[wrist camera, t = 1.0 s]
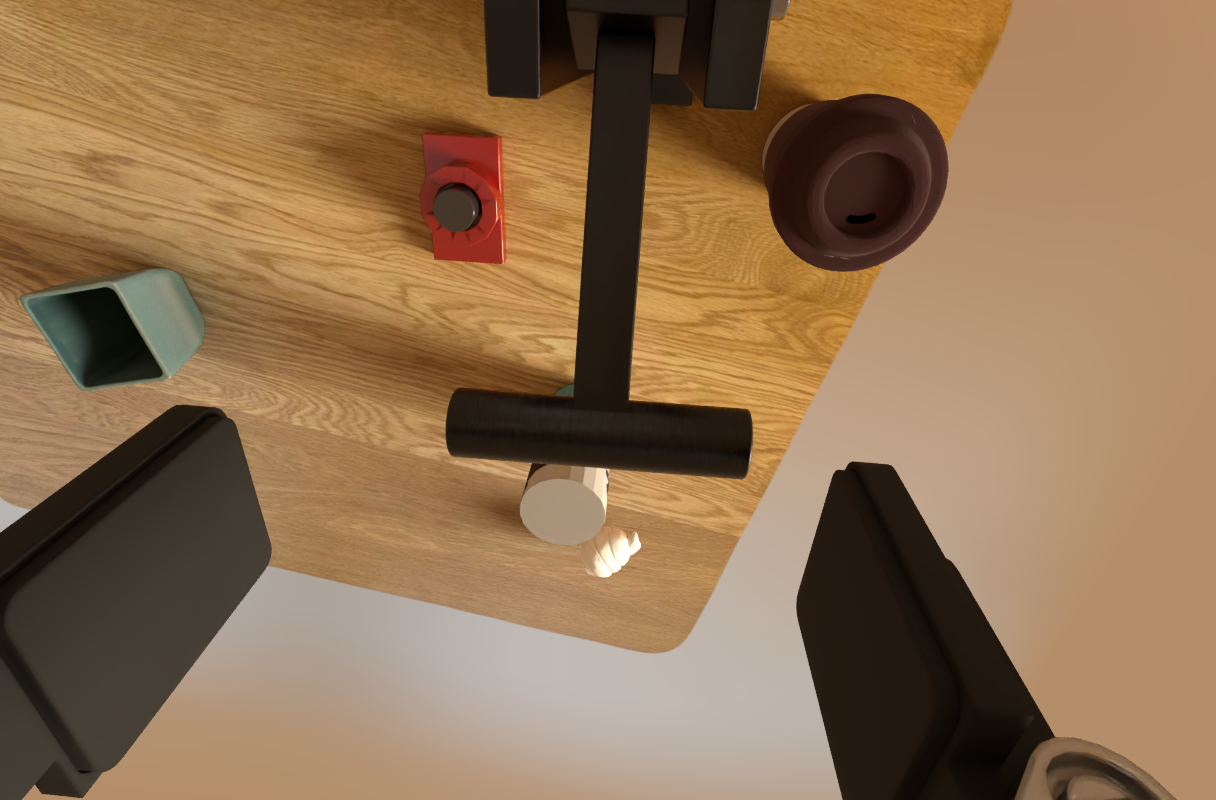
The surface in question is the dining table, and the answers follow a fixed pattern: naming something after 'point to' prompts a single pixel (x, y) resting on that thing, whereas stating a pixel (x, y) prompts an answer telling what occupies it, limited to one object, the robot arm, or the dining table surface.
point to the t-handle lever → (609, 287)
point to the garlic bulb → (608, 551)
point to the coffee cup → (854, 179)
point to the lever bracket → (710, 69)
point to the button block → (480, 172)
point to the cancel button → (456, 208)
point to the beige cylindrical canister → (565, 500)
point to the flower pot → (119, 327)
